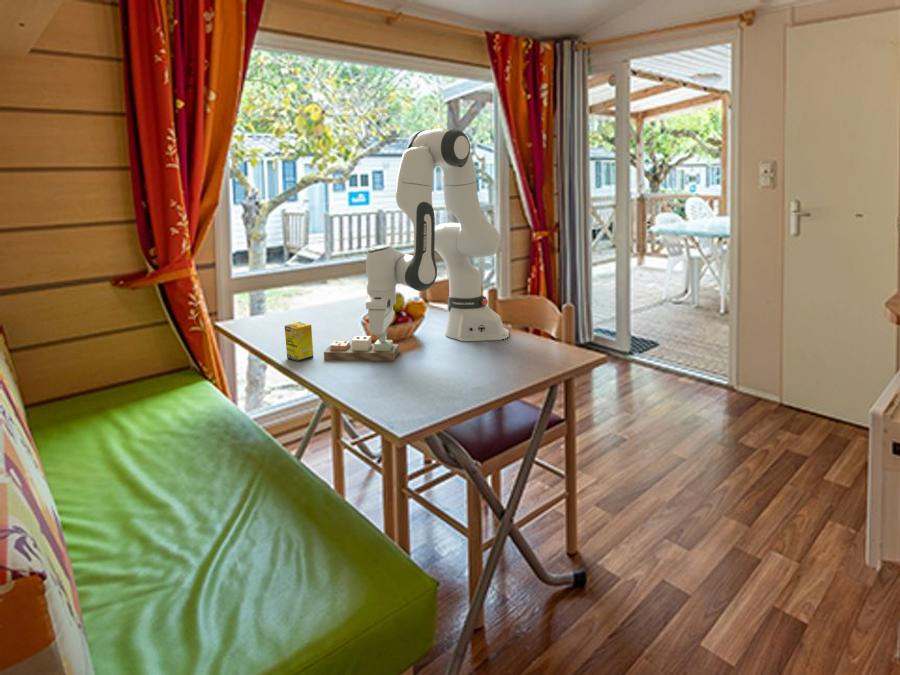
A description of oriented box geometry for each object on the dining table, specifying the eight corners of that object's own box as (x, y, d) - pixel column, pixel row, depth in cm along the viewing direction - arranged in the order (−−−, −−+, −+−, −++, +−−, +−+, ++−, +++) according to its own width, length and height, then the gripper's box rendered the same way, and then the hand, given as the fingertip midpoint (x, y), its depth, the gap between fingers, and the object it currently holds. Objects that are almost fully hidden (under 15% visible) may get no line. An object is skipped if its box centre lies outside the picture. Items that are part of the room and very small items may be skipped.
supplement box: (286, 359, 197) (283, 325, 194) (301, 354, 202) (299, 321, 199) (298, 362, 194) (296, 328, 191) (313, 357, 198) (311, 324, 195)
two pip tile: (371, 348, 201) (370, 335, 200) (368, 352, 196) (367, 339, 195) (356, 347, 202) (355, 335, 201) (352, 352, 197) (351, 339, 196)
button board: (399, 351, 203) (398, 344, 203) (393, 361, 194) (393, 353, 193) (332, 350, 205) (332, 343, 205) (324, 359, 196) (323, 352, 195)
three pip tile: (350, 353, 202) (349, 340, 201) (346, 357, 198) (345, 344, 196) (335, 352, 203) (334, 340, 202) (331, 357, 198) (330, 344, 197)
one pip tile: (393, 351, 201) (392, 339, 200) (390, 356, 196) (389, 343, 195) (377, 351, 201) (377, 338, 200) (374, 356, 197) (374, 343, 195)
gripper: (378, 291, 204) (379, 332, 208) (364, 304, 184) (366, 350, 188) (397, 291, 203) (398, 333, 207) (385, 305, 184) (387, 350, 187)
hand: (383, 341), depth 197 cm, fingers closed, pressing on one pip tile
